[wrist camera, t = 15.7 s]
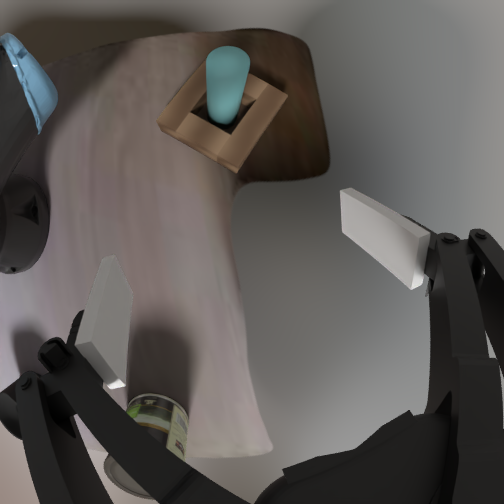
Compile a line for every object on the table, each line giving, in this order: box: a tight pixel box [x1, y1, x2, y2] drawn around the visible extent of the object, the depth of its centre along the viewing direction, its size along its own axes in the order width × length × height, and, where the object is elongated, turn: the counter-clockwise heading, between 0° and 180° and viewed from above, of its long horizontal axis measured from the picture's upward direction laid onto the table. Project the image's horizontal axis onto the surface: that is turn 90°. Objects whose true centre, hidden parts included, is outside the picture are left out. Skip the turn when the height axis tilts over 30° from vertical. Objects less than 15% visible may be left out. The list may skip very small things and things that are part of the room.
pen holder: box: [0, 373, 41, 440], centre depth 30 cm, size 9×9×10 cm
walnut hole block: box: [156, 60, 288, 174], centre depth 34 cm, size 12×12×4 cm
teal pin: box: [206, 46, 250, 129], centre depth 29 cm, size 4×4×14 cm
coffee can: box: [104, 393, 189, 500], centre depth 31 cm, size 10×10×14 cm
